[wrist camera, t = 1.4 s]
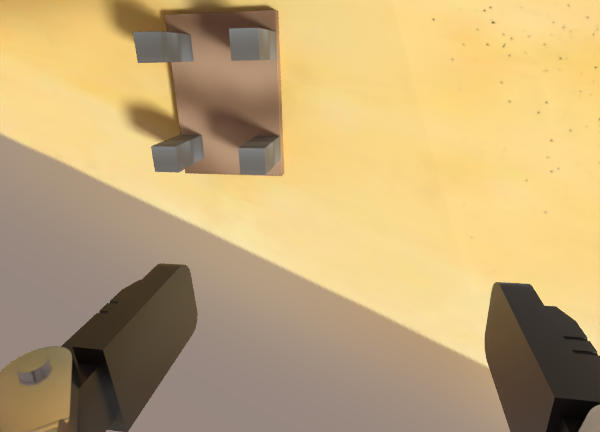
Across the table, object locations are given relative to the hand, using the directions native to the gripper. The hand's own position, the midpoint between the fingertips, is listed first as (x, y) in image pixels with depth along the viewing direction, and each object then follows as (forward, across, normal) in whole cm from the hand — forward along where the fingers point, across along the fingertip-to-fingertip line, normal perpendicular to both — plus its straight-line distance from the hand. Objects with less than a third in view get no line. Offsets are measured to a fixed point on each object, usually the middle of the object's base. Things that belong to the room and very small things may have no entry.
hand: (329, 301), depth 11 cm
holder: (+25, +12, -3) cm, 28 cm away
